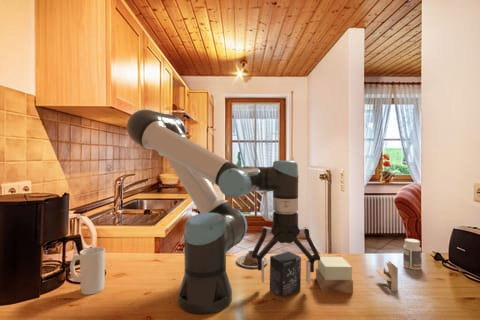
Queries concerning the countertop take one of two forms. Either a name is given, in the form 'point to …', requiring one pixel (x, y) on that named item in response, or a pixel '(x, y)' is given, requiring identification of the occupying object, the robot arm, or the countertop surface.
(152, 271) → the countertop surface
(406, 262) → the pill bottle
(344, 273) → the tower top
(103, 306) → the countertop surface
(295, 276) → the box
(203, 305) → the robot arm
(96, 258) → the mug
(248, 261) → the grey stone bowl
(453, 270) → the countertop surface
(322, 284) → the tower base
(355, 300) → the countertop surface
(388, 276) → the architectural model
